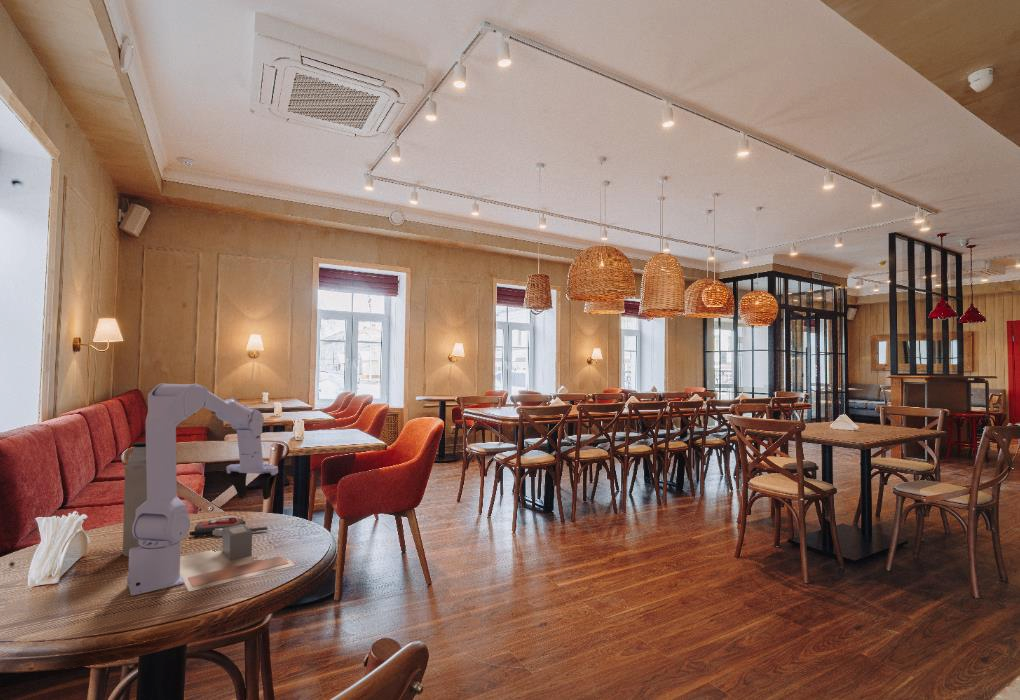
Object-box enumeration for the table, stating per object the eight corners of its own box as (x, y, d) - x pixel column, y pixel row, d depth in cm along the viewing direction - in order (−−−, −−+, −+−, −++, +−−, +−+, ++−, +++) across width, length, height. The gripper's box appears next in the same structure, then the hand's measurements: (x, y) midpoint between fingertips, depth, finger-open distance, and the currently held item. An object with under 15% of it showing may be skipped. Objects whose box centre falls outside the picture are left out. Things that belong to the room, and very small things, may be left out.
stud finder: (229, 560, 124) (230, 535, 124) (222, 551, 130) (222, 527, 130) (251, 555, 127) (252, 531, 128) (243, 546, 133) (243, 523, 134)
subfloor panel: (188, 592, 107) (188, 591, 107) (171, 558, 126) (171, 557, 126) (295, 565, 122) (295, 564, 122) (266, 538, 140) (266, 538, 140)
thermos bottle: (127, 548, 132) (129, 440, 133) (163, 543, 136) (165, 439, 137) (118, 558, 125) (121, 445, 126) (157, 553, 129) (160, 443, 129)
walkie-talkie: (186, 541, 139) (266, 534, 145) (187, 525, 139) (267, 519, 145) (195, 531, 147) (271, 525, 153) (195, 516, 147) (271, 510, 153)
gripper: (282, 447, 144) (286, 492, 146) (236, 445, 146) (241, 490, 148) (267, 456, 137) (271, 503, 139) (219, 454, 139) (224, 500, 141)
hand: (254, 497), depth 143 cm, fingers open, 7 cm apart
